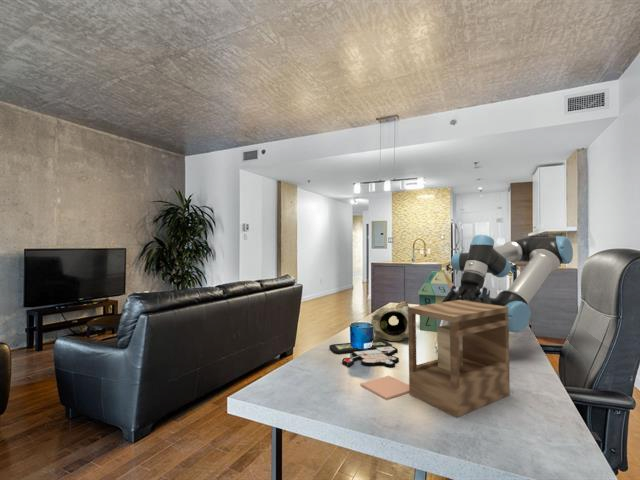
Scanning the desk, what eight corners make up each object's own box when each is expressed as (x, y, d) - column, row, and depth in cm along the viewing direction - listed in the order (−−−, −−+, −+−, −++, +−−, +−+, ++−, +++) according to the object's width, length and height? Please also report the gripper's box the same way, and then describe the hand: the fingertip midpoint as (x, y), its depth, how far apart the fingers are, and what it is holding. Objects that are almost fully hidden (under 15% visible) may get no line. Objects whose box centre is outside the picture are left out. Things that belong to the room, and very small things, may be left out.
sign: (383, 339, 155) (419, 361, 126) (383, 343, 155) (419, 366, 126) (326, 345, 148) (350, 369, 119) (326, 349, 148) (350, 374, 119)
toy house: (459, 327, 180) (458, 270, 180) (453, 334, 166) (452, 272, 167) (426, 324, 189) (425, 269, 190) (417, 330, 175) (416, 271, 176)
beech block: (448, 363, 107) (448, 324, 107) (462, 368, 102) (462, 327, 102) (437, 366, 104) (437, 326, 104) (451, 371, 100) (451, 330, 100)
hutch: (461, 377, 114) (460, 299, 114) (509, 395, 100) (508, 306, 100) (409, 394, 101) (408, 307, 101) (456, 417, 87) (454, 316, 88)
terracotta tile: (388, 377, 114) (388, 375, 114) (416, 390, 104) (416, 388, 104) (360, 385, 108) (360, 383, 108) (386, 400, 98) (386, 397, 98)
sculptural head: (377, 304, 180) (359, 307, 158) (417, 299, 171) (404, 300, 149) (382, 339, 176) (365, 346, 155) (424, 335, 167) (411, 342, 145)
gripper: (439, 270, 133) (423, 322, 127) (501, 271, 112) (486, 334, 106) (451, 278, 136) (436, 330, 130) (513, 280, 115) (499, 342, 109)
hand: (458, 332), depth 118 cm, fingers open, 13 cm apart
